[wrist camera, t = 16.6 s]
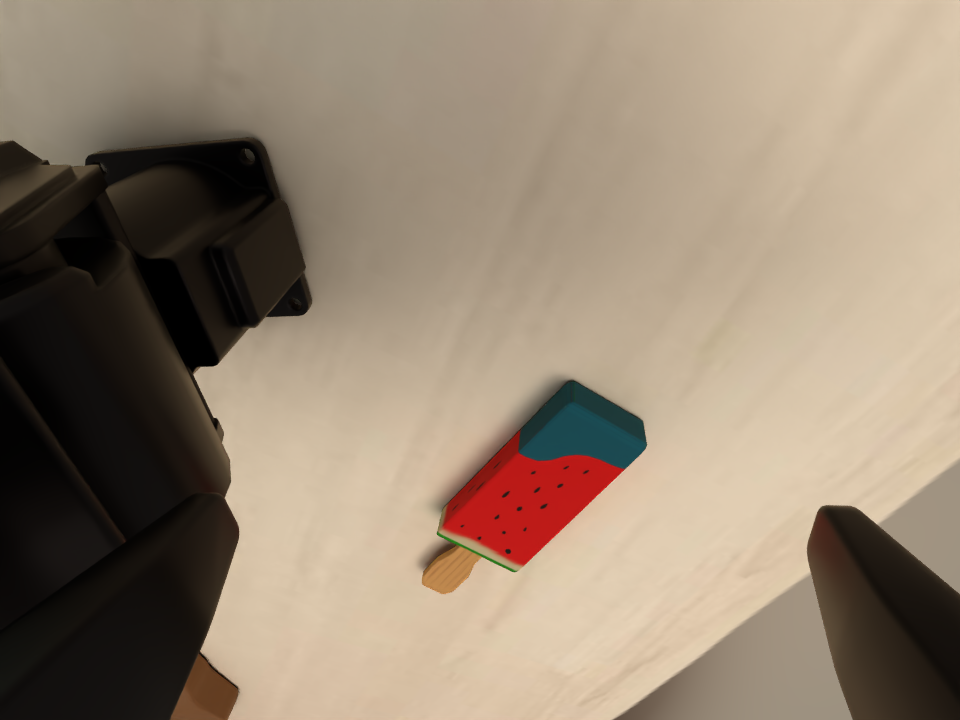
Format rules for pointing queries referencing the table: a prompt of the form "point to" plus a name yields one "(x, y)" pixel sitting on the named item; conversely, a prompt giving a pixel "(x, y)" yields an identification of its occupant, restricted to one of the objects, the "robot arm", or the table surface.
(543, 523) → the popsicle
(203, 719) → the plant
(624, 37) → the table surface
